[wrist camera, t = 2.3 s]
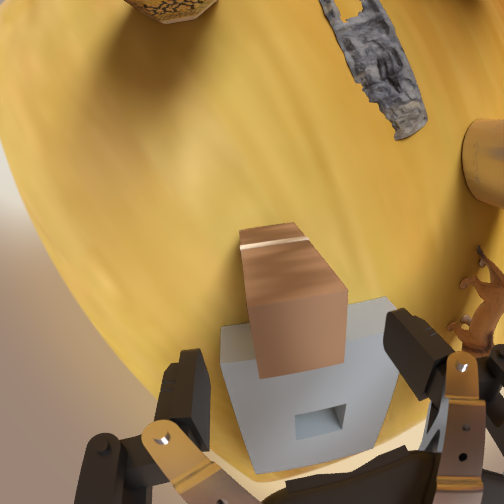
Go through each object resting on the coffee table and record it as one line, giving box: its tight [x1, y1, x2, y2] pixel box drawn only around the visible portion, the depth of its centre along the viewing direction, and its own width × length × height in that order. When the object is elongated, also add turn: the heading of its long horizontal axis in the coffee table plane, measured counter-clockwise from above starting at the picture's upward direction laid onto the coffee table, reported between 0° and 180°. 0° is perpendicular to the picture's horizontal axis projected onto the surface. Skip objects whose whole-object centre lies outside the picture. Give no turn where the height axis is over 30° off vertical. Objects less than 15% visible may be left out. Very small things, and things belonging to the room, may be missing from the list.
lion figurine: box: [447, 246, 504, 358], centre depth 23 cm, size 15×5×9 cm, turn 9°
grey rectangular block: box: [220, 296, 399, 474], centre depth 27 cm, size 16×22×5 cm
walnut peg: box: [239, 222, 348, 379], centre depth 17 cm, size 4×4×12 cm
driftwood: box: [319, 0, 428, 140], centre depth 16 cm, size 21×7×2 cm, turn 19°
